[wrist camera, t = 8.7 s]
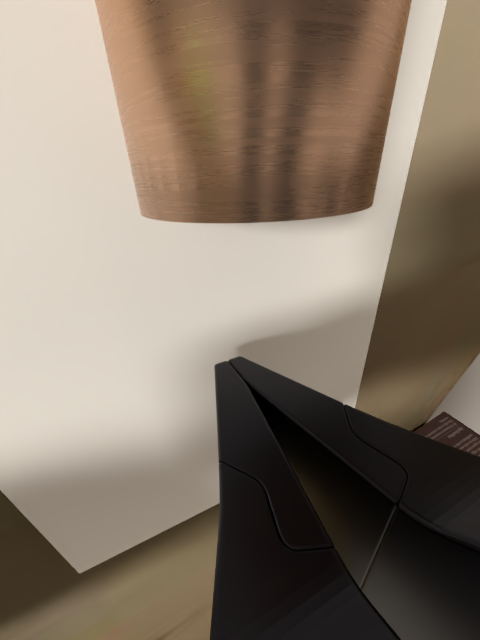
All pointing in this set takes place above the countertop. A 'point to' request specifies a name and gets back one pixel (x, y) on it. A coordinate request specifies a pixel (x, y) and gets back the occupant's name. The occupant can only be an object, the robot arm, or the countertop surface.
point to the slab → (154, 294)
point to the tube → (253, 103)
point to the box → (451, 433)
